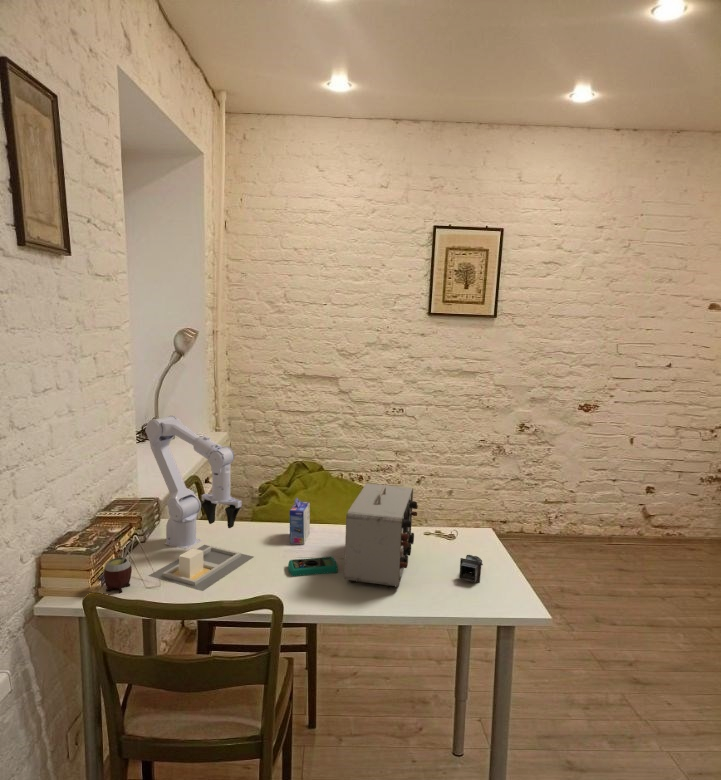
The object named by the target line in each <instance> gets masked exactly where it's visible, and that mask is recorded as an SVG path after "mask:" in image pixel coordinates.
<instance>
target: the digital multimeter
mask: <svg viewBox="0 0 721 780" xmlns="http://www.w3.org/2000/svg"><path fill="white" fill-rule="evenodd" d="M287 564H288V565H287V566H288V567H287V568H288V569H287V570H288V573H289V574H290V576H291V577H300V576H310V575H322V574H337V573H338V565H337V562H336V560H335V558H334V557H333V556H325V557H324V556H323V557H313V558H312V557H310V558H299V559H298V558H297V559H290V560H289V561H288V563H287Z"/></svg>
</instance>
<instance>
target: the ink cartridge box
mask: <svg viewBox="0 0 721 780" xmlns="http://www.w3.org/2000/svg"><path fill="white" fill-rule="evenodd" d="M310 507H311V505H310V501H300V500H299V499H298V497H296V498H295V500H294V504H293V505H292V507H291V508H290V509H289V544H293V545H305V543H306V542H307V539H308V538H309V536H310V532H311V531H310V529H311V528H310V527H311V526H310V524H311V523H310V522H311V521H310V517H311V516H310V513H311V512H310V511H311V509H310Z"/></svg>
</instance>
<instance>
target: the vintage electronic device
mask: <svg viewBox="0 0 721 780" xmlns="http://www.w3.org/2000/svg"><path fill="white" fill-rule="evenodd" d="M413 500H414V487H407V486H399V485H397V486H396V485H387V484H376V483H365V485H364V486H363V488H362V489H361V491H360V492H359V494H358V495H357V496H356V498H355V500H354V501H353V502H352V504H351V505H350V506H349V507H350V508H348V510H347V512H346V516H345V517H346V518H345V541H344V542H345V545H344V547H345V548H344V569H343V571H344V572H343V574H344V576H343V579H344V580H346V581H348V582H349V583H352V584H355V583H357V582H359V583H368V584H374V585H375V584H377V585H384V586H387V587H388V588H389V589H395V588H396V587H400V584H401V580H402V577H403V573H404V569H407V568H408V563H409V556H411V553H412V545H414V544H415V543H414V540H415V532H412V521H413V519H412V517H418V512H417V511H414V510H418V501H415V500H414V501H413ZM413 509H414V510H413Z"/></svg>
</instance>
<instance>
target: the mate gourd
mask: <svg viewBox="0 0 721 780" xmlns="http://www.w3.org/2000/svg"><path fill="white" fill-rule="evenodd" d="M137 540H138V538H135V539H134V540H132V541H131V542H129V543H128V544H127V545H126V546H125V551H124V553H123V557H114V558H112V559H109V561H107V562H106V564H105V566H104V570H103V579H104V584H105V587H106V589H105V591H106V593H109V592H111V591H112V592H113V591H116V590H117V592H118V594H122V593H123V590H122V589H124V588H127V587H128V588H129V587H130V586H131V583H130V581H131V578H132V570H133V569H132V565H131V562H130V561H129V559H128V558H126V555H127V553H128V551H129V549H130V548H131V547H130V546H131V545H133V544H134V543H135V542H136V541H137Z"/></svg>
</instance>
